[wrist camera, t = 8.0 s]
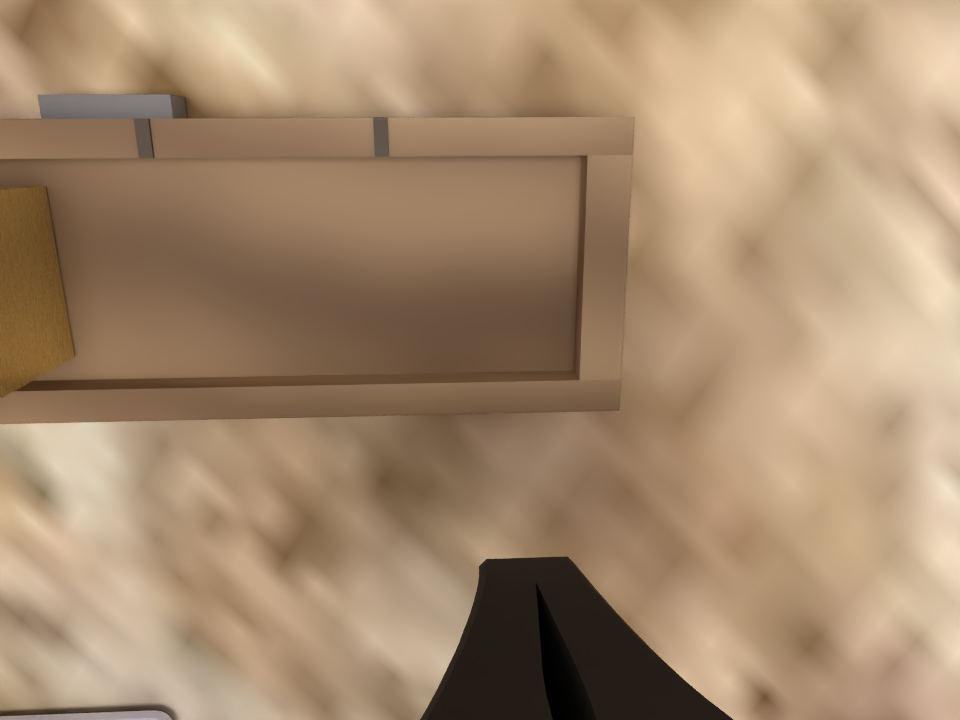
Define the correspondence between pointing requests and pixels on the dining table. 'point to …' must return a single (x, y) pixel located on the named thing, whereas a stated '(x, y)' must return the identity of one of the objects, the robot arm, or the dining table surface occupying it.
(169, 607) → the dining table surface
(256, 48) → the dining table surface
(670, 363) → the dining table surface
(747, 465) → the dining table surface
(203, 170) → the brown rectangular tray
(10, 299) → the yellow block
